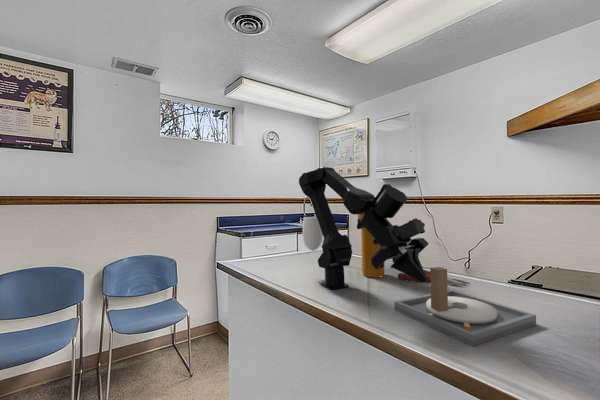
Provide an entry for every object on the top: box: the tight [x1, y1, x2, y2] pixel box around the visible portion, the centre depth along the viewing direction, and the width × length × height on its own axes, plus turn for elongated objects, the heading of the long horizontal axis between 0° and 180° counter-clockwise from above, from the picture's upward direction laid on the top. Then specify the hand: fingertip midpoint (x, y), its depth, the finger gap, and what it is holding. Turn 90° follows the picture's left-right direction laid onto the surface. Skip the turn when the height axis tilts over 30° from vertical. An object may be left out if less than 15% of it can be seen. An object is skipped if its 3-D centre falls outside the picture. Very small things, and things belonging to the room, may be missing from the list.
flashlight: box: [357, 214, 388, 278], centre depth 104 cm, size 10×26×10 cm
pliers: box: [397, 269, 471, 287], centre depth 95 cm, size 12×20×3 cm, turn 45°
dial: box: [426, 266, 497, 324], centre depth 67 cm, size 14×14×10 cm
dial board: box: [393, 289, 537, 347], centre depth 67 cm, size 20×20×2 cm
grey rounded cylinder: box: [302, 216, 324, 251], centre depth 105 cm, size 7×7×21 cm
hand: (426, 281), depth 67 cm, fingers closed
